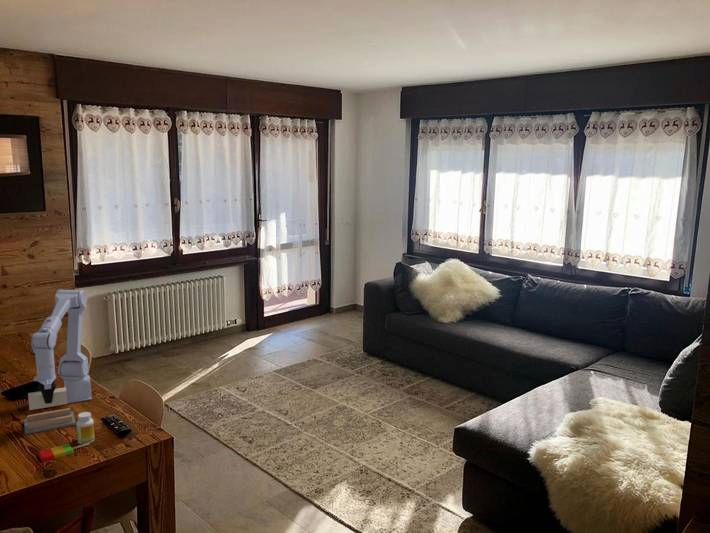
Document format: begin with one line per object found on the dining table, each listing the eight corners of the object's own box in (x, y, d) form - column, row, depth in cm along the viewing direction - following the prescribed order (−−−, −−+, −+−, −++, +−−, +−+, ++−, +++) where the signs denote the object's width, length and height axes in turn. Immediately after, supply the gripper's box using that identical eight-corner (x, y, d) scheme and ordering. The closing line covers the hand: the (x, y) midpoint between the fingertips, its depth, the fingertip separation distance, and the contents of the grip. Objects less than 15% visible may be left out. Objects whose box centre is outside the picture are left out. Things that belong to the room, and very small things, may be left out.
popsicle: (38, 456, 190) (38, 451, 189) (87, 442, 199) (86, 437, 199) (42, 463, 186) (42, 458, 185) (92, 449, 195) (91, 444, 195)
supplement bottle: (98, 438, 201) (96, 412, 199) (86, 445, 196) (84, 419, 194) (85, 435, 203) (84, 409, 201) (73, 442, 198) (71, 416, 196)
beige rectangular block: (66, 400, 214) (65, 387, 213) (67, 403, 211) (66, 390, 210) (29, 406, 208) (28, 393, 207) (29, 410, 205) (28, 396, 204)
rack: (73, 413, 219) (72, 406, 218) (75, 424, 210) (75, 417, 210) (24, 422, 211) (23, 414, 210) (25, 434, 203) (24, 426, 202)
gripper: (31, 360, 210) (34, 395, 213) (33, 373, 198) (36, 411, 201) (53, 357, 214) (56, 391, 217) (56, 370, 202) (59, 407, 204)
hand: (48, 400), depth 209 cm, fingers closed on beige rectangular block, 3 cm apart
